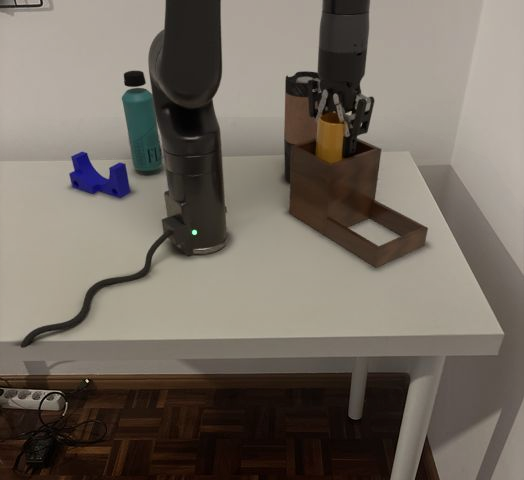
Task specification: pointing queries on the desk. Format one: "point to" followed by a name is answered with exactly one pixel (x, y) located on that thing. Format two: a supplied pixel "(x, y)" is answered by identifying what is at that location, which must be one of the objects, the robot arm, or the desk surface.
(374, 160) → the organizer
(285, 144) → the travel mug
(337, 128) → the cup
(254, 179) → the desk surface
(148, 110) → the beverage bottle
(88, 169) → the blue curved bracket
